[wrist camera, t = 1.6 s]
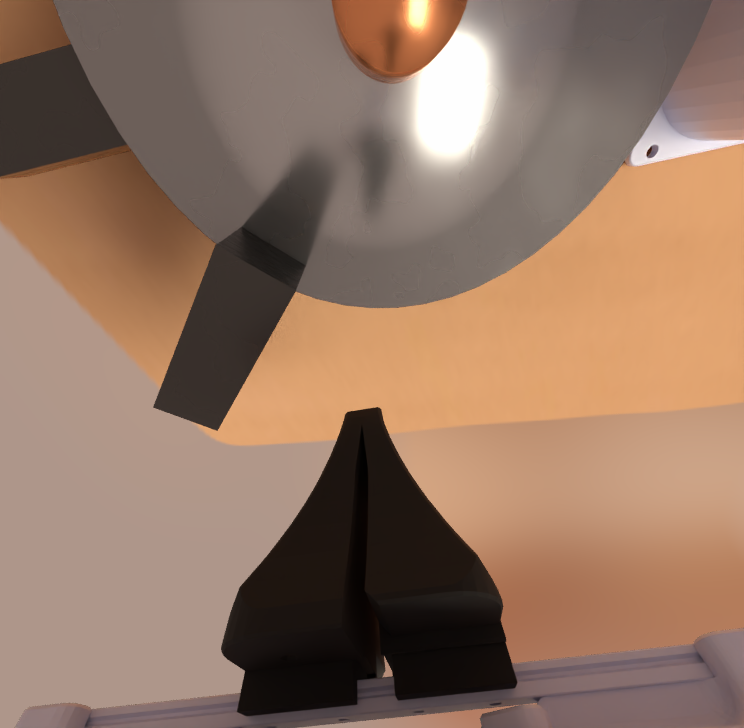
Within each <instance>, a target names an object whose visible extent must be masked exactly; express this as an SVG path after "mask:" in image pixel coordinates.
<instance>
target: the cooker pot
mask: <svg viewBox="0 0 744 728" xmlns="http://www.w3.org/2000/svg"><path fill="white" fill-rule="evenodd" d="M127 151H131V149H130V147H129V146H128V145H127V143H126V142H125V140H124V139H123V137H122V136H121V135H120V133H119V132H118V130H117V128H116V126H115V125H114V123H113V121H112V120H111V118H110V116H109V115H108V113H107V111H106V109H105V108H104V106H103V104H102V103H101V101H100V99H99V98H98V96H97V94H96V92H95V91H94V89H93V87H92V86H91V84H90V82H89V80H88V78H87V75H86V73H85V71H84V69H83V67H82V65H81V63H80V61H79V59H78V57H77V55H76V53H75V51H74V48H73V46H72V44H71V45H67V46H64V47H60V48H56V49H53V50H49V51H46V52H42V53H39V54H35V55H31V56H28V57H24V58H21V59H17V60H14V61H10V62H7V63H3V64H0V179H4V178H15V177H26V176H31V175H35V174H39V173H43V172H47V171H51V170H55V169H59V168H63V167H67V166H71V165H75V164H79V163H83V162H87V161H91V160H95V159H99V158H103V157H107V156H111V155H115V154H119V153H123V152H127Z"/></svg>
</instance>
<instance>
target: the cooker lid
mask: <svg viewBox="0 0 744 728" xmlns="http://www.w3.org/2000/svg"><path fill="white" fill-rule="evenodd" d="M712 1H713V0H53V2H54V5H55V7H56V10H57V12H58V15H59V17H60V20H61V23H62V25H63V28H64V30H65V32H66V34H67V36H68V38H69V40H70V42H71V44H72V46H73V48H74V51H75V53H76V55H77V57H78V59H79V61H80V63H81V65H82V67H83V69H84V71H85V73H86V75H87V78H88V80H89V82H90V84H91V86H92V87H93V89H94V91H95V92H96V94H97V96H98V98H99V99H100V101H101V103H102V104H103V106H104V108H105V109H106V111H107V113H108V115H109V116H110V118H111V120H112V121H113V123H114V125H115V126H116V128H117V130H118V132H119V133H120V135H121V136H122V137H123V139H124V140H125V142H126V143H127V145H128V146H129V147H130V149H131V150H132V152H133V153H134V154H135V156H136V157H137V159H138V160H139V161H140V163H141V164H142V166H143V167H144V169H145V170H146V171H147V173H148V174H149V175H150V176H151V178H152V179H153V180H154V181H155V182H156V183H157V185H158V186H159V187H160V188H161V189H162V191H163V192H164V193H165V194H166V195H167V196H168V198H169V199H170V200H171V201H172V202H173V203H174V205H175V206H176V207H177V208H178V209H179V210H180V211H181V212H182V213H183V214H184V215H185V216H186V217H187V218H188V219H189V220H190V221H191V222H192V223H193V224H195V225H196V226H197V227H198V228H199V229H200V230H201V231H202V232H203V233H204V234H205V235H206V236H207V237H208V238H210V239H211V240H212V241H213V242H215V243H216V245H215V248H214V250H213V253H212V256H211V258H210V261H209V263H208V266H207V269H206V271H205V274H204V276H203V279H202V282H201V284H200V287H199V289H198V292H197V295H196V297H195V300H194V303H193V305H192V308H191V310H190V313H189V316H188V318H187V321H186V323H185V326H184V329H183V331H182V334H181V336H180V339H179V342H178V344H177V347H176V349H175V352H174V355H173V357H172V360H171V362H170V365H169V368H168V370H167V373H166V375H165V378H164V381H163V383H162V386H161V388H160V391H159V394H158V396H157V399H156V401H155V404H154V408H156V409H159V410H162V411H165V412H167V413H170V414H173V415H176V416H179V417H181V418H184V419H187V420H189V421H192V422H195V423H197V424H200V425H203V426H206V427H208V428H211V429H214V430H217V431H218V429H219V427H220V425H221V423H222V422H223V420H224V418H225V416H226V415H227V413H228V411H229V409H230V407H231V406H232V404H233V402H234V400H235V398H236V397H237V395H238V393H239V391H240V390H241V388H242V386H243V384H244V382H245V381H246V379H247V377H248V375H249V373H250V372H251V370H252V368H253V366H254V365H255V363H256V361H257V359H258V357H259V356H260V354H261V352H262V350H263V348H264V347H265V345H266V343H267V341H268V340H269V338H270V336H271V334H272V332H273V331H274V329H275V327H276V325H277V323H278V322H279V320H280V318H281V316H282V315H283V313H284V311H285V309H286V307H287V306H288V304H289V302H290V300H291V298H292V297H293V295H294V293H295V291H296V292H299V293H302V294H305V295H307V296H310V297H313V298H316V299H319V300H324V301H328V302H332V303H337V304H341V305H347V306H357V307H366V308H399V307H406V306H413V305H421V304H426V303H430V302H434V301H438V300H442V299H446V298H450V297H453V296H455V295H458V294H461V293H463V292H466V291H468V290H471V289H474V288H476V287H479V286H481V285H483V284H485V283H486V282H488V281H490V280H492V279H494V278H496V277H498V276H500V275H502V274H504V273H506V272H507V271H509V270H510V269H512V268H513V267H515V266H516V265H518V264H519V263H521V262H522V261H524V260H526V259H527V258H529V257H530V256H532V255H533V254H534V253H536V252H537V251H538V250H539V249H541V248H542V247H543V246H544V245H545V244H547V243H548V242H549V241H550V240H552V239H553V238H554V237H555V236H557V235H558V234H559V233H560V232H561V231H562V230H563V229H564V228H565V227H566V226H567V225H568V224H570V223H571V222H572V221H573V220H574V219H575V218H576V217H577V216H578V215H579V214H580V213H581V212H582V211H583V210H584V209H585V208H586V207H587V206H588V205H589V204H590V202H591V201H592V200H593V199H594V198H595V197H596V196H597V194H598V193H599V192H600V191H601V190H602V189H603V187H604V186H605V185H606V184H607V183H608V182H609V180H610V179H611V178H612V177H613V176H614V175H615V173H616V172H617V171H618V169H619V168H620V166H621V165H622V164H623V162H624V161H625V160H626V158H627V157H628V155H629V154H630V153H631V151H632V150H633V149H634V147H635V146H636V144H637V143H638V142H639V140H640V139H641V138H642V136H643V134H644V133H645V131H646V130H647V128H648V126H649V125H650V123H651V121H652V120H653V118H654V116H655V115H656V113H657V111H658V110H659V108H660V107H661V105H662V103H663V102H664V100H665V98H666V97H667V95H668V93H669V92H670V90H671V88H672V86H673V84H674V82H675V80H676V78H677V76H678V74H679V72H680V70H681V68H682V66H683V64H684V62H685V60H686V58H687V57H688V55H689V53H690V51H691V49H692V47H693V45H694V43H695V41H696V39H697V36H698V34H699V32H700V29H701V27H702V24H703V22H704V20H705V17H706V15H707V12H708V10H709V8H710V5H711V3H712Z"/></svg>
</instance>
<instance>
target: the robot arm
mask: <svg viewBox="0 0 744 728" xmlns="http://www.w3.org/2000/svg"><path fill="white" fill-rule="evenodd" d="M742 143H744V0H713V1H712V3H711V5H710V8H709V10H708V12H707V15H706V17H705V20H704V22H703V24H702V27H701V29H700V32H699V34H698V36H697V39H696V41H695V43H694V45H693V47H692V49H691V51H690V53H689V55H688V57H687V58H686V60H685V62H684V64H683V66H682V68H681V70H680V72H679V74H678V76H677V78H676V80H675V82H674V84H673V86H672V88H671V90H670V92H669V93H668V95H667V97H666V98H665V100H664V102H663V103H662V105H661V107H660V108H659V110H658V111H657V113H656V115H655V116H654V118H653V120H652V121H651V123H650V125H649V126H648V128H647V130H646V131H645V133H644V134H643V136H642V138H641V139H640V140H639V142H638V143H637V144H636V146H635V147H634V149H633V150H632V151H631V153H630V154H629V155H628V157H627V158H626V160H625V163H626V164H627V165H628V166H641V165H646V164H650V163H655V162H660V161H664V160H669V159H673V158H678V157H682V156H687V155H692V154H696V153H701V152H705V151H710V150H715V149H719V148H724V147H728V146H733V145H737V144H742ZM651 146H652V151H651V153H650V154H649V155H648V156H646V153H647V151H648V149H649V148H650V147H651ZM502 610H503V603H502V599H501V596H500V594H499V592H498V590H497V587H496V586H495V584H494V582H493V580H492V578H491V576H490V575H489V573H488V571H487V570H486V568H485V567H484V565H483V563H482V562H481V560H480V559H479V557H478V555H477V554H476V553H475V552H474V551H473V550H472V549H471V548H470V547H469V546H468V545H467V544H466V543H465V542H464V541H463V540H462V539H461V537H460V536H459V535H458V534H457V533H456V532H455V531H454V530H453V529H452V527H451V526H450V525H449V524H448V523H447V522H446V521H445V519H444V518H443V517H442V516H441V515H440V513H439V512H438V511H437V510H436V508H435V507H434V506H433V505H432V503H431V502H430V501H429V500H428V498H427V497H426V496H425V494H424V493H423V492H422V490H421V489H420V488H419V486H418V485H417V483H416V482H415V480H414V479H413V477H412V476H411V474H410V473H409V471H408V469H407V468H406V466H405V464H404V463H403V461H402V459H401V458H400V456H399V454H398V452H397V450H396V448H395V446H394V444H393V443H392V441H391V438H390V436H389V434H388V431H387V429H386V426H385V424H384V421H383V416H382V411H381V409H380V408H378V407H376V408H370V409H363V410H357V411H350V412H347V413H346V414H345V418H344V421H343V425H342V428H341V431H340V433H339V436H338V439H337V441H336V444H335V446H334V448H333V451H332V453H331V456H330V458H329V460H328V462H327V464H326V466H325V468H324V470H323V472H322V474H321V477H320V478H319V480H318V482H317V484H316V486H315V488H314V489H313V491H312V493H311V494H310V496H309V498H308V500H307V501H306V503H305V504H304V506H303V507H302V509H301V510H300V512H299V513H298V515H297V516H296V518H295V519H294V521H293V522H292V524H291V525H290V527H289V528H288V529H287V531H286V532H285V533H284V535H283V536H282V537H281V538H280V540H279V541H278V543H277V544H276V545H275V546H274V548H273V549H272V550H271V552H270V553H269V554H268V555H267V557H266V558H265V559H264V560H263V561H262V562H261V564H260V565H259V566H258V567H257V568H256V569H255V571H254V572H253V573H252V574H251V575H250V576H249V577H248V579H247V580H246V581H245V582H244V583H243V584H242V585H241V586H240V588H239V591H238V593H237V596H236V599H235V602H234V604H233V607H232V610H231V613H230V616H229V620H228V624H227V628H226V631H225V635H224V639H223V643H222V647H221V650H222V653H223V655H224V656H225V657H226V658H227V659H228V660H230V661H231V662H232V663H234V664H235V665H237V666H239V667H240V668H242V669H243V670H245V674H244V680H243V684H242V689H241V693H237V694H227V695H218V696H209V697H201V698H190V699H181V700H173V701H164V702H154V703H144V704H135V705H126V706H117V707H108V708H99V709H91V708H90V707H88V706H86V705H82V704H77V703H60V704H52V705H43V706H33V707H29V708H28V709H26V710H25V711H24V713H23V714H22V716H21V717H20V719H19V721H18V723H17V724H16V726H15V728H297V727H307V726H317V725H326V724H336V723H346V722H356V721H366V720H376V719H385V718H395V717H404V716H415V715H425V714H435V713H444V712H454V711H464V710H473V709H483V708H494V707H503V706H513V705H519V706H514V707H510V708H506V709H502V710H497V711H493V712H489V713H485V714H482V716H481V718H480V720H481V725H482V727H481V728H744V628H738V629H729V630H721V631H714V632H710V633H707V634H703V635H701V636H699V637H698V638H697V639H696V640H695V641H694V644H687V645H677V646H668V647H659V648H650V649H641V650H632V651H622V652H612V653H604V654H594V655H585V656H576V657H567V658H557V659H548V660H539V661H530V662H521V663H511V659H510V656H509V653H508V649H507V646H506V643H505V642H506V637H505V633H504V630H503V627H502V624H501V614H502ZM384 656H385V658H386V660H387V662H388V664H389V666H390V668H391V670H392V672H393V676H392V677H383V678H382V676H383V674H384V672H385V662H384ZM533 703H537V704H533ZM523 704H527V705H523Z"/></svg>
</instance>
